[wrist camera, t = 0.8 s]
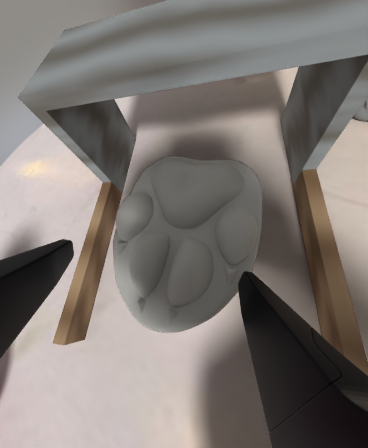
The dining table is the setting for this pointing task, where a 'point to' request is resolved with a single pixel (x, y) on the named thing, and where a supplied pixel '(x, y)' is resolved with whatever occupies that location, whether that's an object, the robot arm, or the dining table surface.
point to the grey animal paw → (186, 240)
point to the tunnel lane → (203, 73)
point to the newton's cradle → (362, 111)
